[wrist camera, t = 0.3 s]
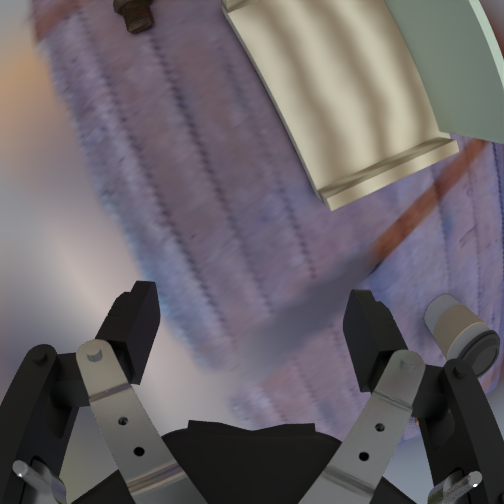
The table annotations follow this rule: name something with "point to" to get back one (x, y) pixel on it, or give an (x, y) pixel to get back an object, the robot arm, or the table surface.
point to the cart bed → (342, 91)
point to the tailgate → (456, 64)
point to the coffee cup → (462, 334)
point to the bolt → (134, 14)
